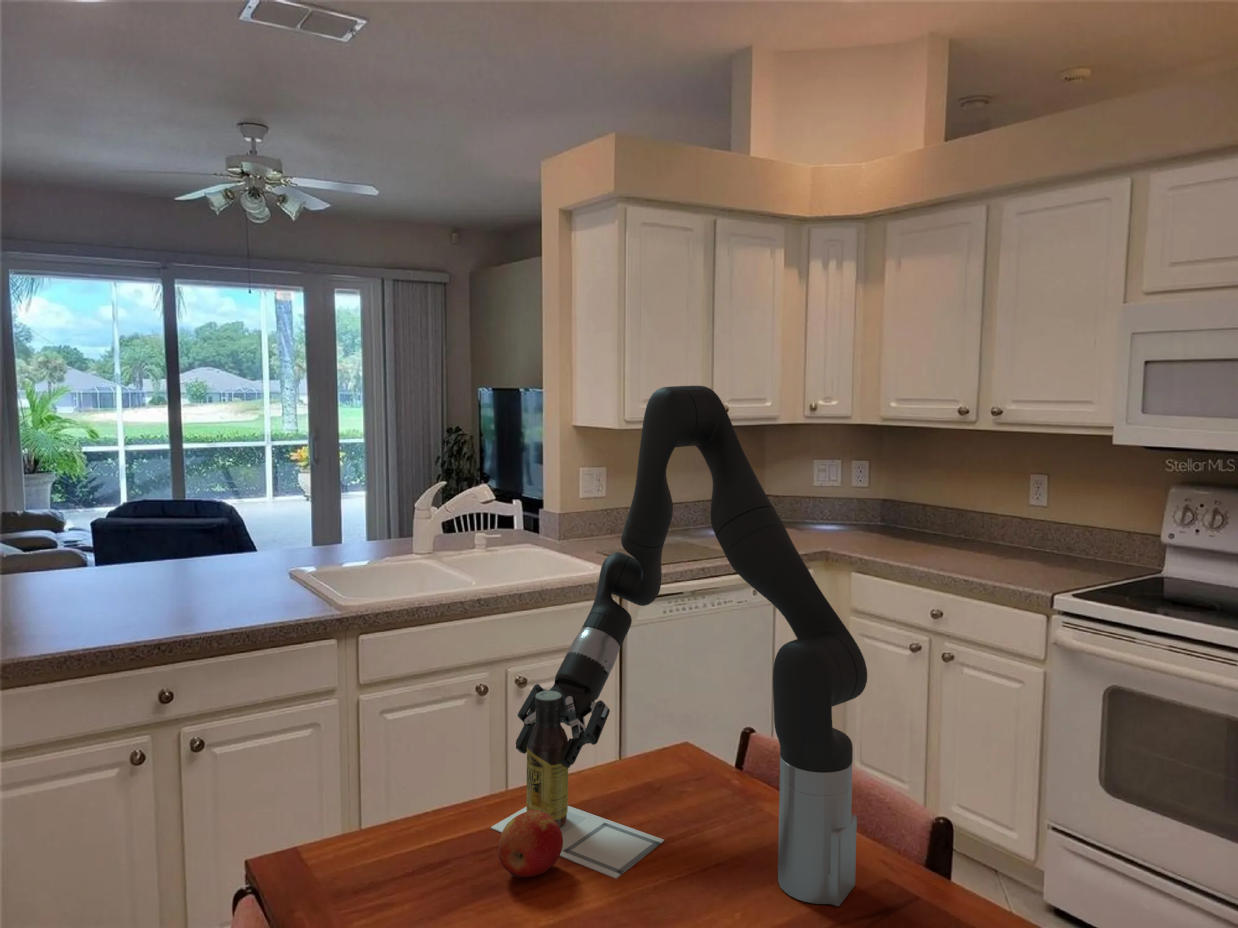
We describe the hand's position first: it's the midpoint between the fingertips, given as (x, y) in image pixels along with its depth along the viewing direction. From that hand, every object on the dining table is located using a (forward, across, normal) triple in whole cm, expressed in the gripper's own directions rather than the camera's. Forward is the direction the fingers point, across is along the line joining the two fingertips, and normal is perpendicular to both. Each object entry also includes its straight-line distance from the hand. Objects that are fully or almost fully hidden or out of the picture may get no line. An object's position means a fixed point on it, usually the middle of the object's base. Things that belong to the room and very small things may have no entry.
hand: (541, 757), depth 125 cm
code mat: (+7, +6, +8) cm, 12 cm away
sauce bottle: (+7, 0, +8) cm, 11 cm away
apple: (+15, +7, 0) cm, 16 cm away
